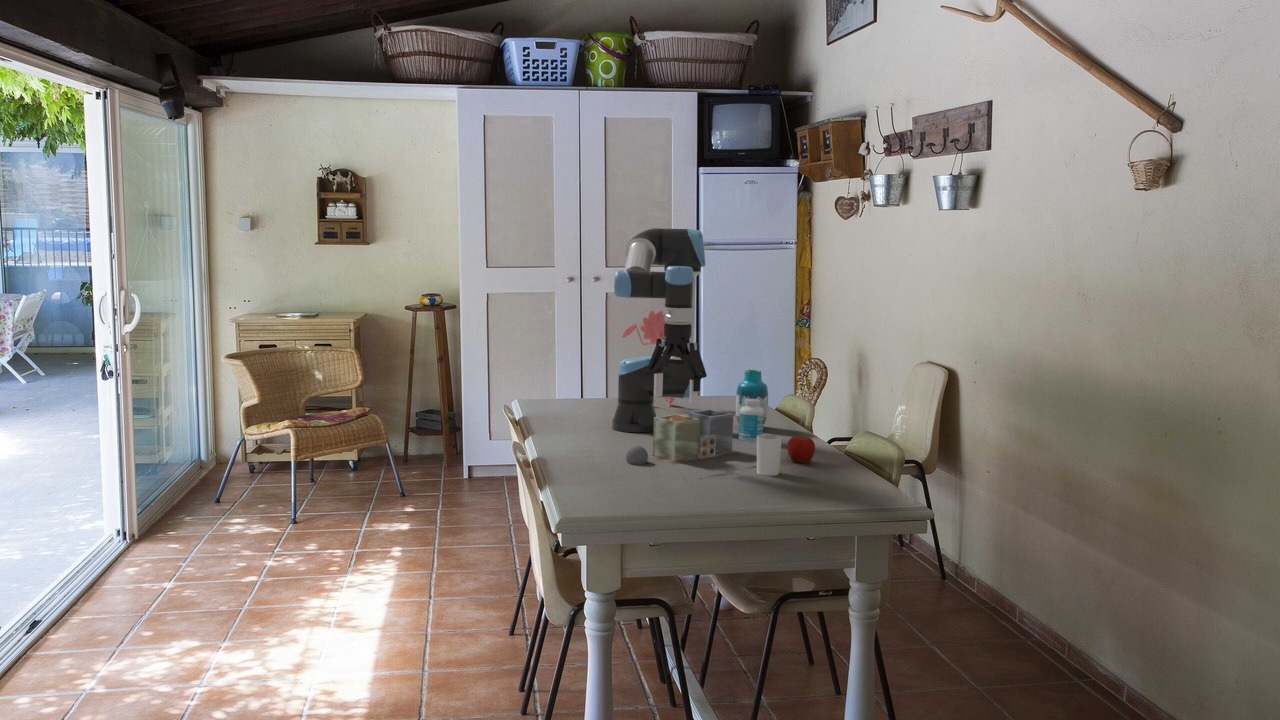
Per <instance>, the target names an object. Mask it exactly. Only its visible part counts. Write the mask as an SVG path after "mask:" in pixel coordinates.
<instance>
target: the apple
mask: <svg viewBox="0 0 1280 720" xmlns="http://www.w3.org/2000/svg"><path fill="white" fill-rule="evenodd" d="M786 450H787V453H788V456H789V457H790V460H791V461H793V462H794V463H796V462H797V463H796V464H808V463H809V462H811V461H812V459H813V457H814V454H815V451H816V445H815V442H814V440H813V439H812V438H811V437H808V436H803V435H795V436H792V437H791V438H790V439H789V440H788V441H787V444H786Z"/></svg>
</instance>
